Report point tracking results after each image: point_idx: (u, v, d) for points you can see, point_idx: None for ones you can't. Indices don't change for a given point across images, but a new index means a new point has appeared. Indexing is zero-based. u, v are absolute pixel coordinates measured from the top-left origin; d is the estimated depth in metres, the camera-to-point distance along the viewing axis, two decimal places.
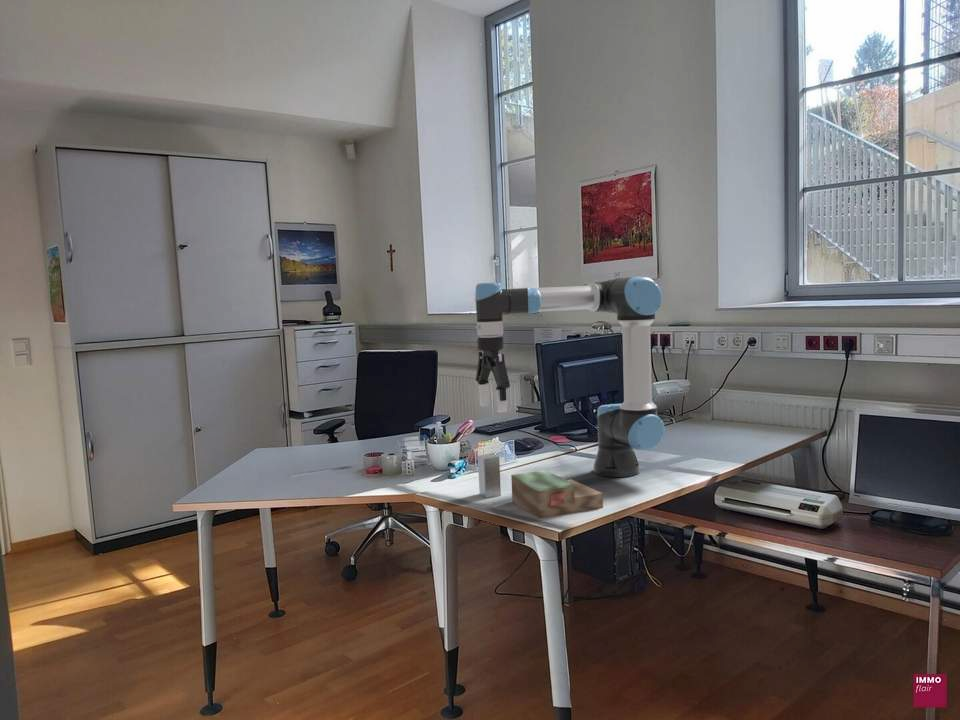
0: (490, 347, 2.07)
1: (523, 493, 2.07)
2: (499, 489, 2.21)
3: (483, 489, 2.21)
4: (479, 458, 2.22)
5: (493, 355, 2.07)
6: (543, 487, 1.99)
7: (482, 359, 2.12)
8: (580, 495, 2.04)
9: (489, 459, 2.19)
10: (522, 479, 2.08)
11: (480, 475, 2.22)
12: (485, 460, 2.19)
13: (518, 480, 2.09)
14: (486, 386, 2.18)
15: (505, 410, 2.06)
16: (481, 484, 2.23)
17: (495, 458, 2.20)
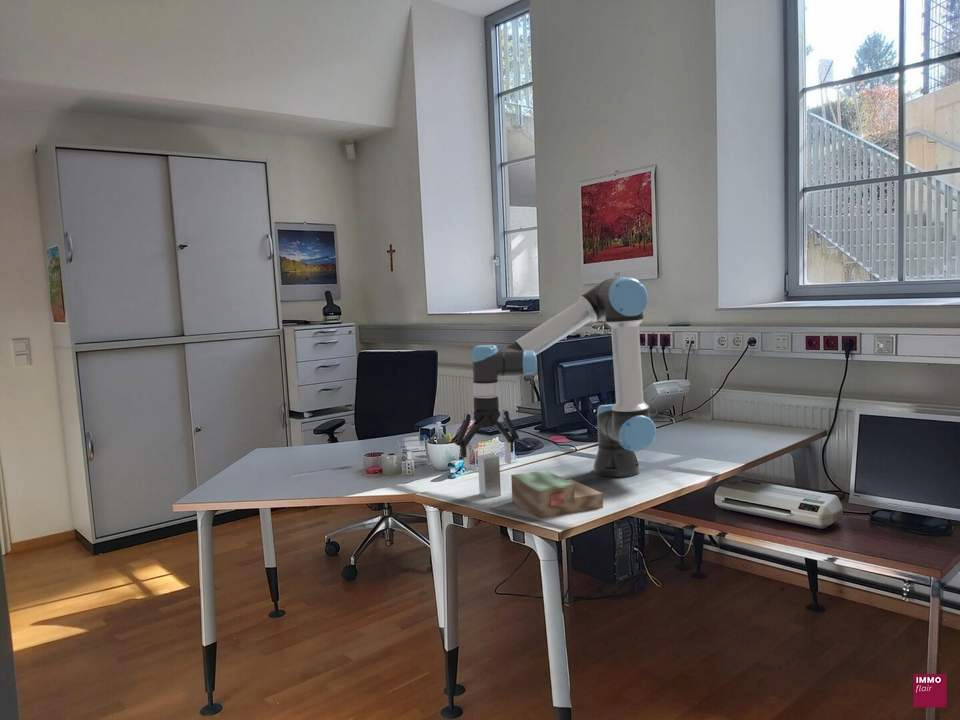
0: None
1: (523, 493, 2.07)
2: (499, 489, 2.21)
3: (483, 489, 2.21)
4: (479, 458, 2.22)
5: None
6: (543, 487, 1.99)
7: None
8: (580, 495, 2.04)
9: (489, 459, 2.19)
10: (522, 479, 2.08)
11: (480, 475, 2.22)
12: (485, 460, 2.19)
13: (518, 480, 2.09)
14: (507, 444, 2.23)
15: (466, 467, 2.19)
16: (481, 484, 2.23)
17: (495, 458, 2.20)
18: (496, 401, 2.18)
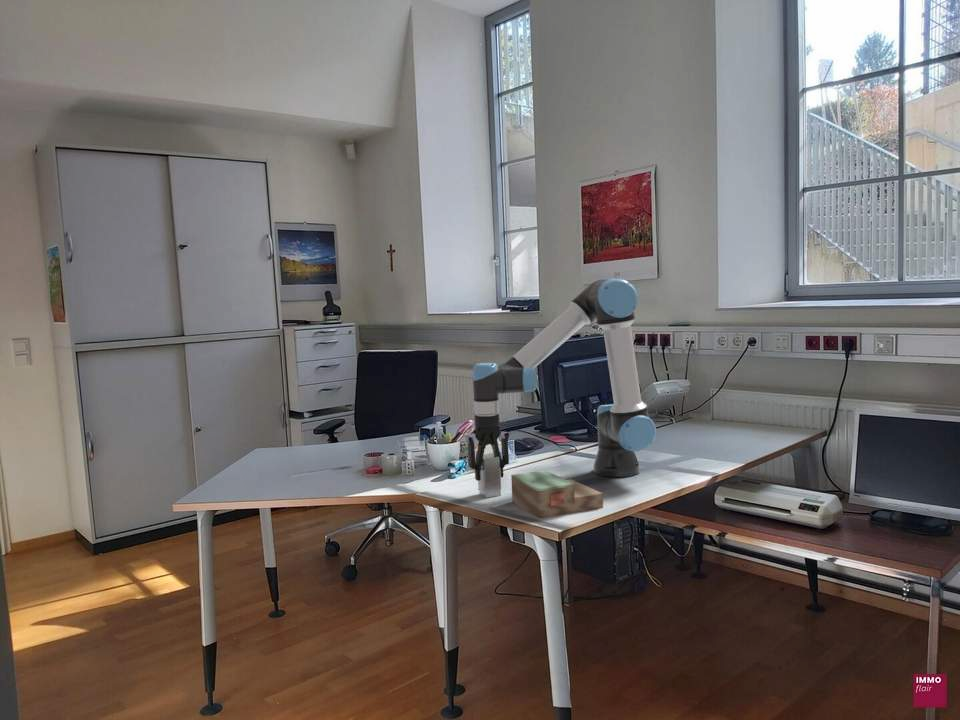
0: None
1: (523, 493, 2.07)
2: (499, 489, 2.21)
3: None
4: None
5: None
6: (543, 487, 1.99)
7: None
8: (580, 495, 2.04)
9: (489, 459, 2.19)
10: (522, 479, 2.08)
11: None
12: (485, 460, 2.19)
13: (518, 480, 2.09)
14: None
15: (480, 489, 2.21)
16: None
17: (495, 458, 2.20)
18: (497, 419, 2.19)
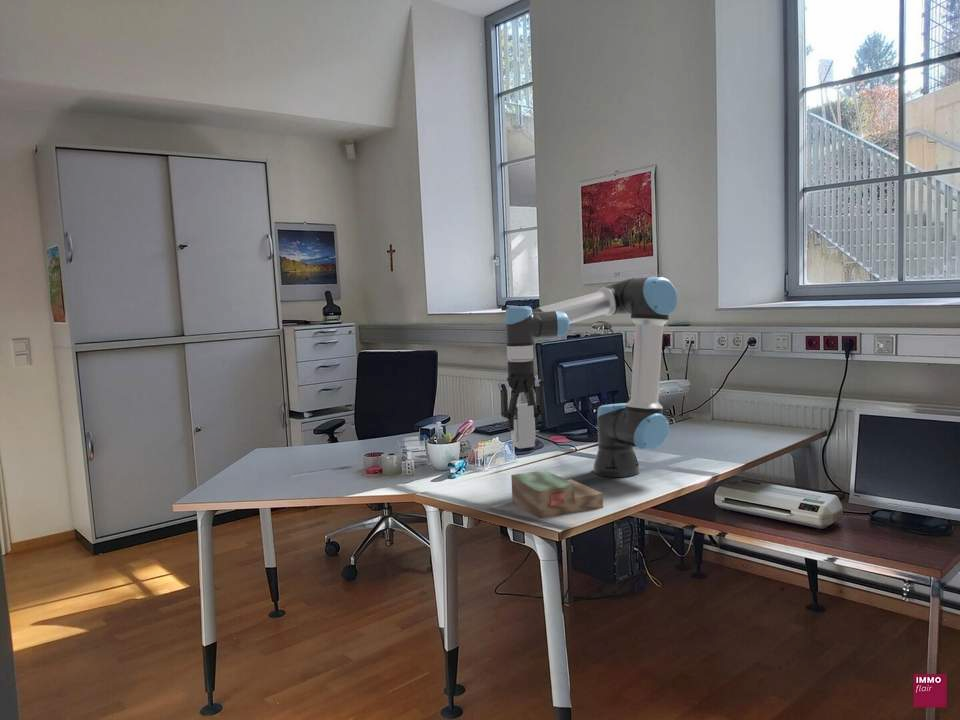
0: None
1: (523, 493, 2.07)
2: (533, 439, 2.10)
3: None
4: None
5: None
6: (543, 487, 1.99)
7: None
8: (580, 495, 2.04)
9: (523, 407, 2.08)
10: (522, 479, 2.08)
11: None
12: (518, 408, 2.07)
13: (518, 480, 2.09)
14: None
15: (514, 440, 2.09)
16: None
17: (529, 406, 2.08)
18: (531, 365, 2.07)
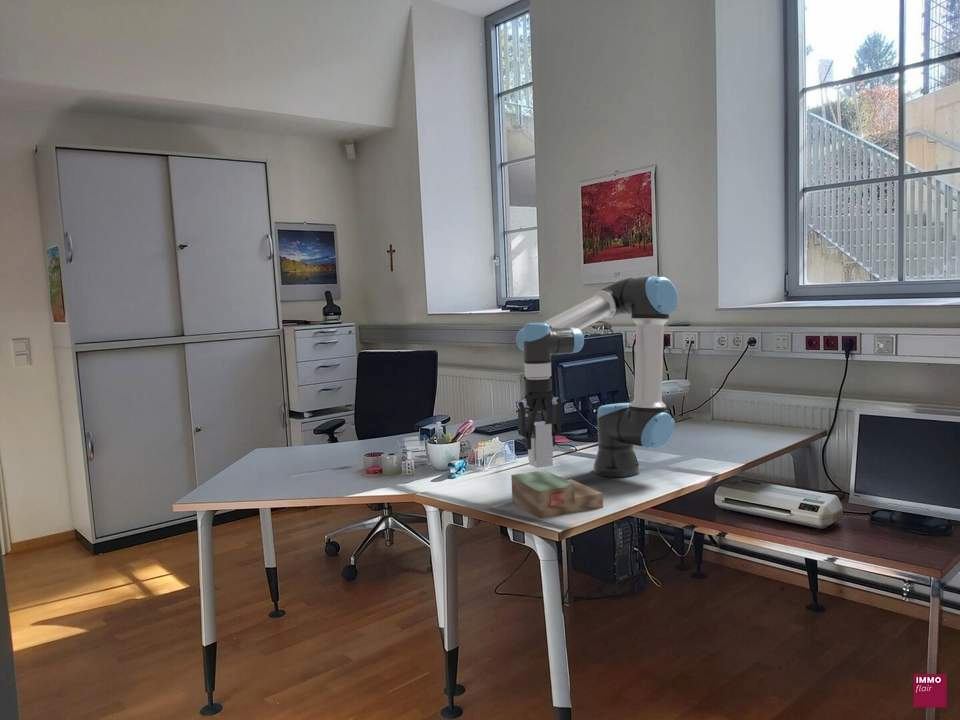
0: (525, 388, 2.05)
1: (523, 493, 2.07)
2: (551, 458, 2.06)
3: None
4: None
5: None
6: (543, 487, 1.99)
7: None
8: (580, 495, 2.04)
9: (541, 426, 2.04)
10: (522, 479, 2.08)
11: None
12: (537, 427, 2.03)
13: (518, 480, 2.09)
14: None
15: (531, 459, 2.05)
16: None
17: (547, 425, 2.04)
18: (550, 383, 2.03)
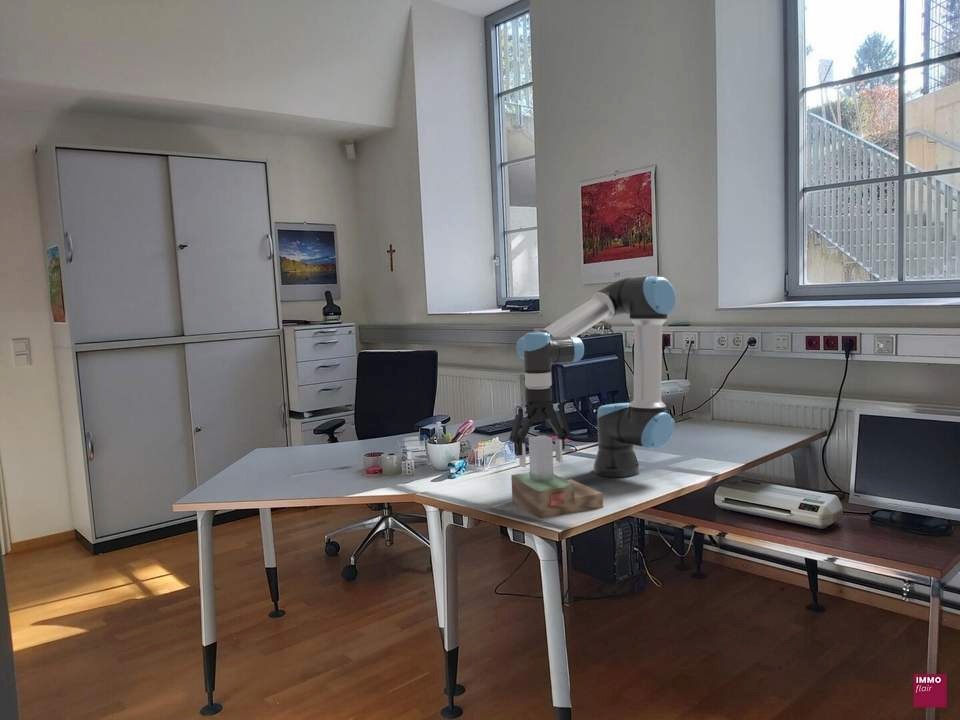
0: None
1: (523, 493, 2.07)
2: (552, 473, 2.06)
3: (535, 473, 2.06)
4: (530, 440, 2.07)
5: None
6: (543, 487, 1.99)
7: None
8: (580, 495, 2.04)
9: (542, 440, 2.04)
10: (522, 479, 2.08)
11: (531, 458, 2.07)
12: (537, 441, 2.04)
13: (518, 480, 2.09)
14: (558, 441, 2.08)
15: (522, 465, 2.04)
16: (532, 468, 2.07)
17: (548, 439, 2.05)
18: (550, 392, 2.03)
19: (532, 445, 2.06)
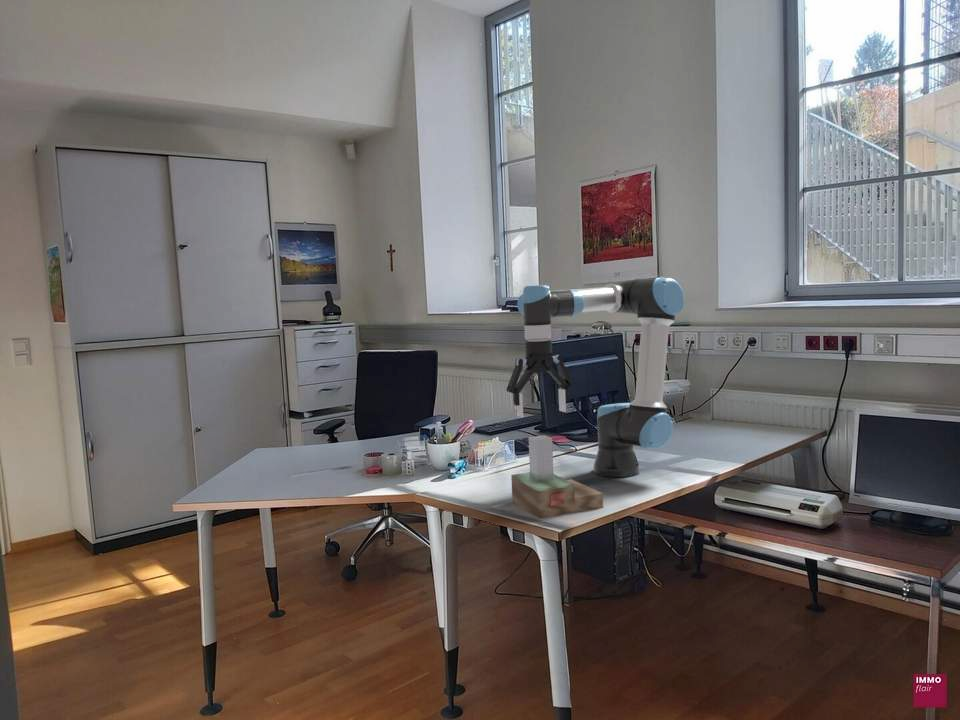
0: None
1: (523, 493, 2.07)
2: (552, 473, 2.06)
3: (535, 473, 2.06)
4: (530, 440, 2.07)
5: None
6: (543, 487, 1.99)
7: None
8: (580, 495, 2.04)
9: (542, 440, 2.04)
10: (522, 479, 2.08)
11: (531, 458, 2.07)
12: (537, 441, 2.04)
13: (518, 480, 2.09)
14: (561, 391, 2.09)
15: (520, 415, 2.04)
16: (532, 468, 2.07)
17: (548, 439, 2.05)
18: (550, 344, 2.04)
19: (532, 445, 2.06)
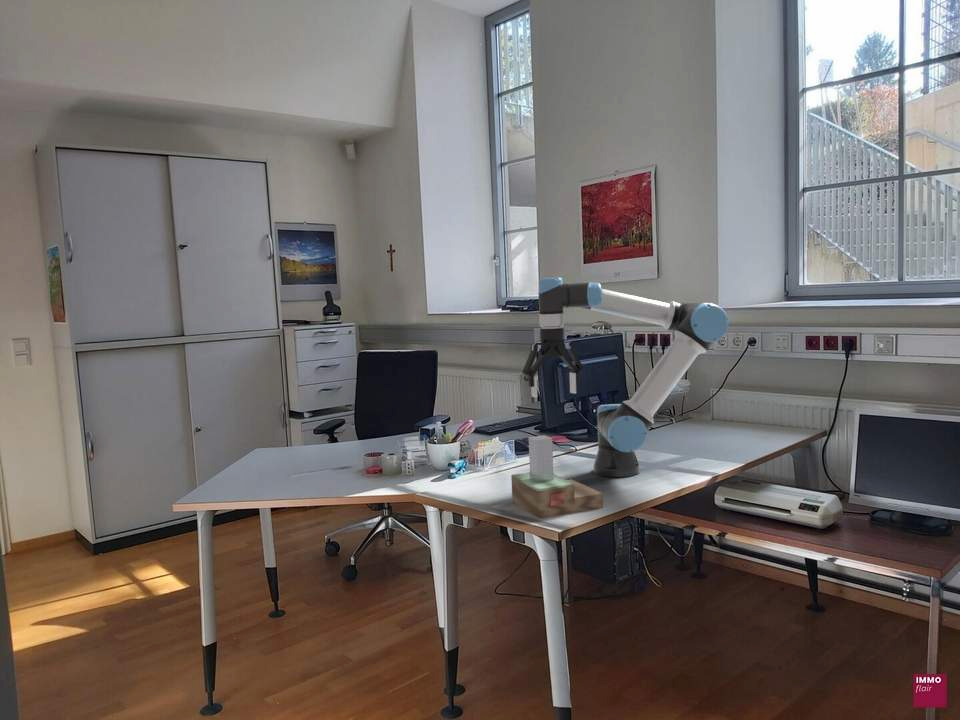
0: (540, 337, 2.27)
1: (523, 493, 2.07)
2: (552, 473, 2.06)
3: (535, 473, 2.06)
4: (530, 440, 2.07)
5: None
6: (543, 487, 1.99)
7: None
8: (580, 495, 2.04)
9: (542, 440, 2.04)
10: (522, 479, 2.08)
11: (531, 458, 2.07)
12: (537, 441, 2.04)
13: (518, 480, 2.09)
14: (572, 375, 2.30)
15: (534, 396, 2.25)
16: (532, 468, 2.07)
17: (548, 439, 2.05)
18: (562, 331, 2.25)
19: (532, 445, 2.06)
